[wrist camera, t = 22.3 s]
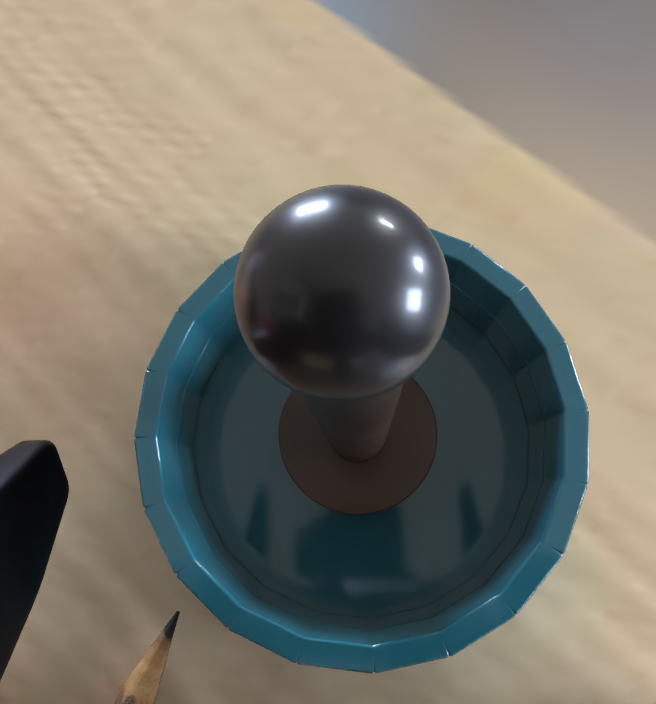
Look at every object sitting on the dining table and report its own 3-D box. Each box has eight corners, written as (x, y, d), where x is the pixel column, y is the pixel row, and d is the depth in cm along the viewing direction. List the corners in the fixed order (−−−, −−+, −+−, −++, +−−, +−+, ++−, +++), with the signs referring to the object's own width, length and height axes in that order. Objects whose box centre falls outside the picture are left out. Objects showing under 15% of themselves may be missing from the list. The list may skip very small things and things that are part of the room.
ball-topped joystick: (462, 448, 18) (756, 281, 5) (349, 545, 18) (293, 691, 4) (366, 339, 19) (368, -71, 6) (256, 429, 19) (-42, 228, 5)
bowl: (290, 712, 17) (269, 772, 14) (123, 378, 20) (65, 348, 16) (618, 507, 18) (687, 509, 14) (416, 212, 21) (428, 146, 17)
